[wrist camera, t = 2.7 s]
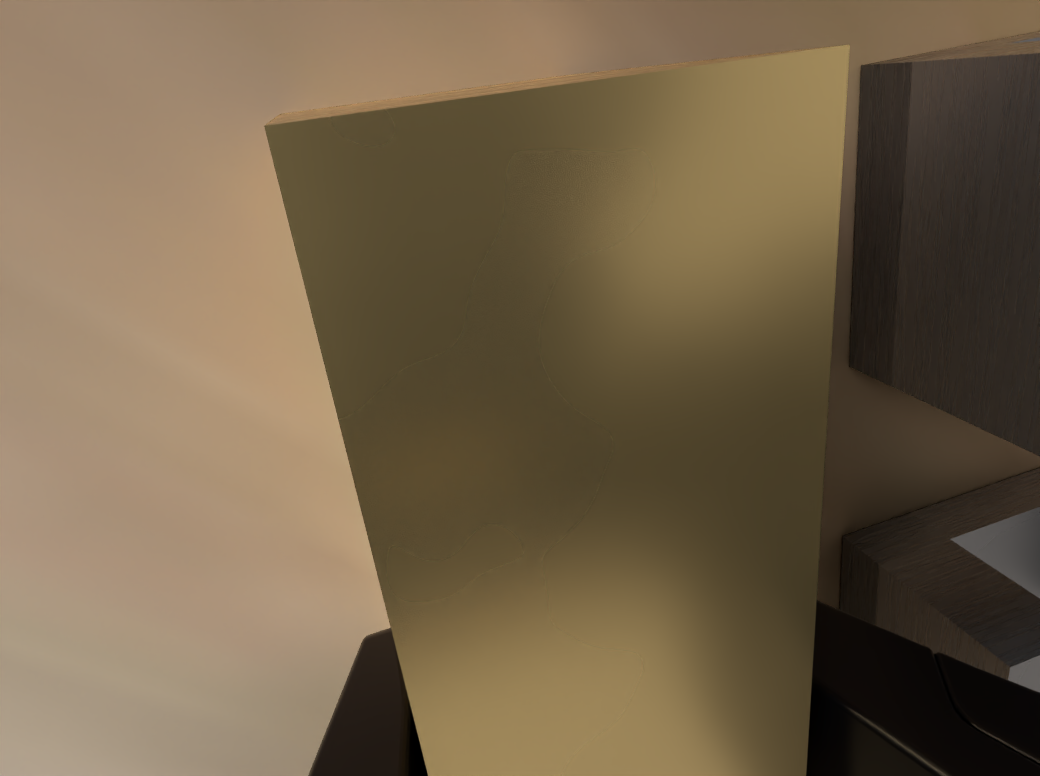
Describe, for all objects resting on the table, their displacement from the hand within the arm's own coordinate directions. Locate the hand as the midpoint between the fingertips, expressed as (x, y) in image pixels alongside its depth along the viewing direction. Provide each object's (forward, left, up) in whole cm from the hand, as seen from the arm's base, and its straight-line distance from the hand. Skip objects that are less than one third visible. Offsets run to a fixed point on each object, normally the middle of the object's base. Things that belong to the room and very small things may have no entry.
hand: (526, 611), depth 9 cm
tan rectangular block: (0, 0, -1) cm, 1 cm away
